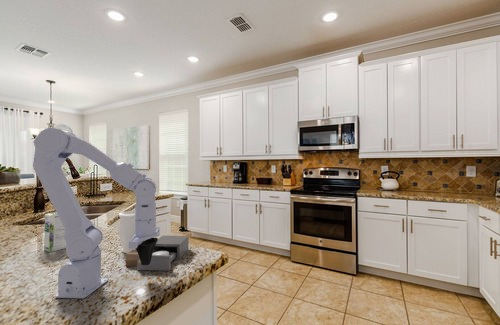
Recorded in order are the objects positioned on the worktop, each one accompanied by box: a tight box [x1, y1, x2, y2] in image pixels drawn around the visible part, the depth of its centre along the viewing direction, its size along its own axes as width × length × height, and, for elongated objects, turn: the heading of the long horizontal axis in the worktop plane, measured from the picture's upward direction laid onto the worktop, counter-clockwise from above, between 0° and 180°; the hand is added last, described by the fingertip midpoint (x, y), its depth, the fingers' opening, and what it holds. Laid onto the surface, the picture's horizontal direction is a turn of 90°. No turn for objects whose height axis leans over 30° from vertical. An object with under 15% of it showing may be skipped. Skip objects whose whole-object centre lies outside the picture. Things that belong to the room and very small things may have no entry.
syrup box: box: [43, 211, 66, 253], centre depth 95 cm, size 6×6×14 cm
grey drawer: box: [136, 253, 177, 272], centre depth 80 cm, size 11×11×5 cm
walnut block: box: [125, 250, 138, 267], centre depth 80 cm, size 4×4×4 cm
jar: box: [118, 209, 136, 254], centre depth 94 cm, size 11×10×15 cm
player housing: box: [153, 235, 190, 261], centre depth 89 cm, size 10×11×6 cm
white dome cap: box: [152, 251, 169, 255], centre depth 80 cm, size 6×6×2 cm
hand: (145, 264), depth 70 cm, fingers closed
